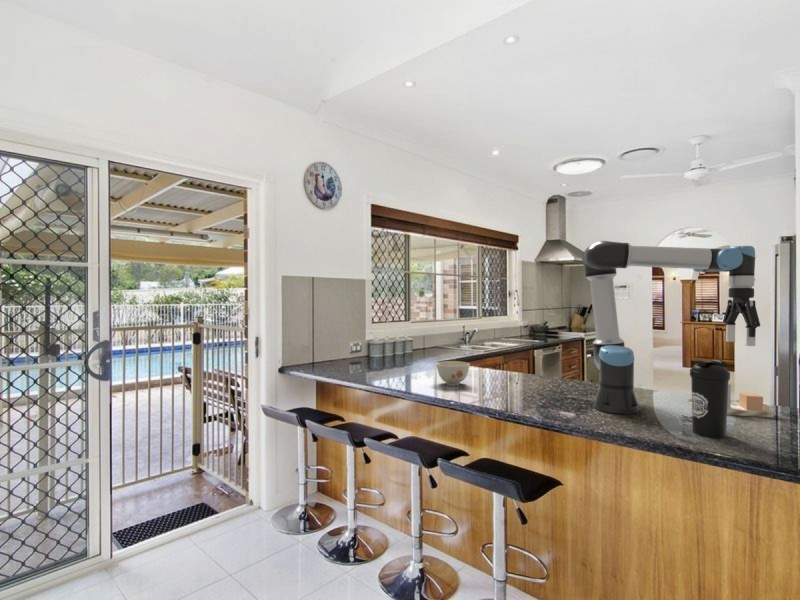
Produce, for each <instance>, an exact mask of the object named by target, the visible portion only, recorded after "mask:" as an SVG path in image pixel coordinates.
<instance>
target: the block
mask: <svg viewBox="0 0 800 600" xmlns="http://www.w3.org/2000/svg"><path fill="white" fill-rule="evenodd" d="M738 393H739V395H738V397H739V398H738V399H739V400H738V401H739V406H740V407H742V408H744V409H746V410H759V411H763V402H764V397H763V396H762V395H759V394H757V393H755V392H754V393H752V392H751V393H750V392H738Z"/></svg>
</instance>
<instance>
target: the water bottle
mask: <svg viewBox="0 0 800 600" xmlns="http://www.w3.org/2000/svg"><path fill="white" fill-rule="evenodd" d="M694 363H695V364H694V365H693V366H691V368H690V369H689V376H690V379H691V380H690V381H691V382H690V383H691V398H692V405H691V417H692V419H691V420H692V421H691V422H692V423H691V425H692V426H691V427H692V432H693V434H695V435H698V436H701V437H703V438H711V439H725V438H726V437H727V421H728V415H727V404H728V383H730V382H729V381H730V379H731V373H730V371H729V370H728V369H727V367H726V366H727V363H726V362H725V361H723V360H718V359H711V360H710V361H706V360H702V359H701V360H700V359H694Z"/></svg>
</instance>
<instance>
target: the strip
mask: <svg viewBox="0 0 800 600" xmlns="http://www.w3.org/2000/svg"><path fill="white" fill-rule="evenodd" d="M731 387H732V384H731V383H730V382H728V404H727V410H742V411H759V410H746V409H744V408H742V407H740V406H733V405H730V404H731V399H732V398H731V395H732V394H731V389H732V388H731ZM760 412H773V405H772V404H769V403H767V402H764V401H763V411H760Z"/></svg>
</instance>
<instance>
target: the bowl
mask: <svg viewBox="0 0 800 600" xmlns="http://www.w3.org/2000/svg"><path fill="white" fill-rule="evenodd" d="M436 368H437V373H438V376H439V377H440V378H441V381H444V382H445V384H446V385H447V386H452V387H455V386H460V384H461V382H463V381H464V380H465V379H466V378H467V376H468V373H469V369H470V362H465V361H459V360H458V361H457V360H445V361H439V362H436Z"/></svg>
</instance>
